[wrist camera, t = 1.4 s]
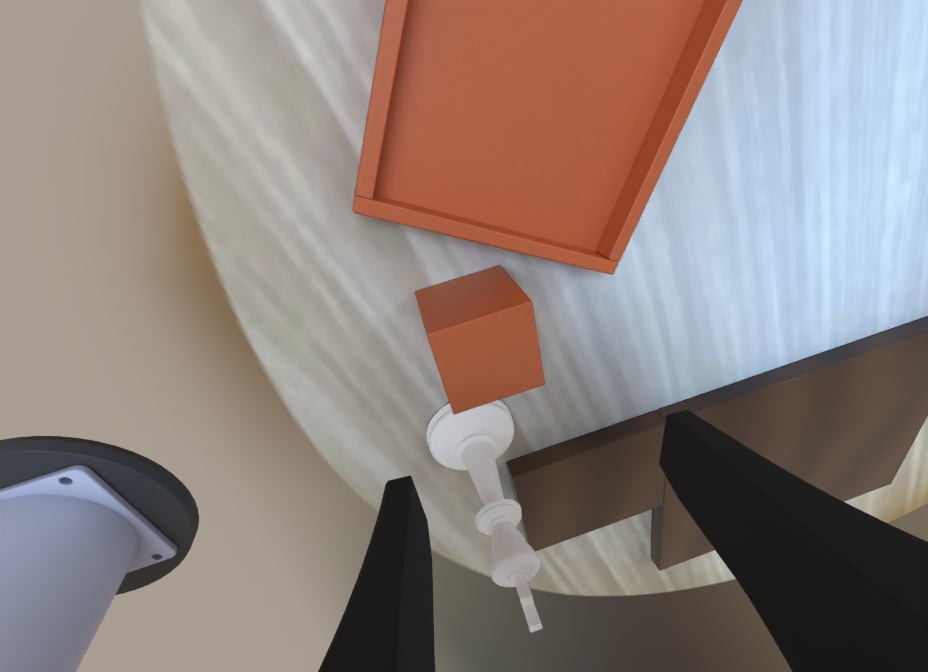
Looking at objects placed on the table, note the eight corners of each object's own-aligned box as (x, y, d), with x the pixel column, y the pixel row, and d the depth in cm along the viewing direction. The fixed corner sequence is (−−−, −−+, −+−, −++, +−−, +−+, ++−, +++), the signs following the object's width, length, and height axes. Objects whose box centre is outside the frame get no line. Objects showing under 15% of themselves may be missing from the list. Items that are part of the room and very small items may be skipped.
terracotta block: (438, 362, 20) (453, 415, 16) (414, 291, 17) (426, 334, 14) (514, 337, 20) (545, 384, 16) (500, 264, 18) (532, 301, 14)
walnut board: (541, 597, 33) (546, 613, 32) (505, 462, 24) (511, 477, 23) (876, 473, 35) (891, 483, 34) (960, 304, 26) (984, 312, 25)
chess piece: (438, 472, 23) (481, 679, 15) (415, 411, 21) (450, 620, 12) (517, 445, 24) (603, 633, 15) (504, 382, 21) (599, 566, 13)
